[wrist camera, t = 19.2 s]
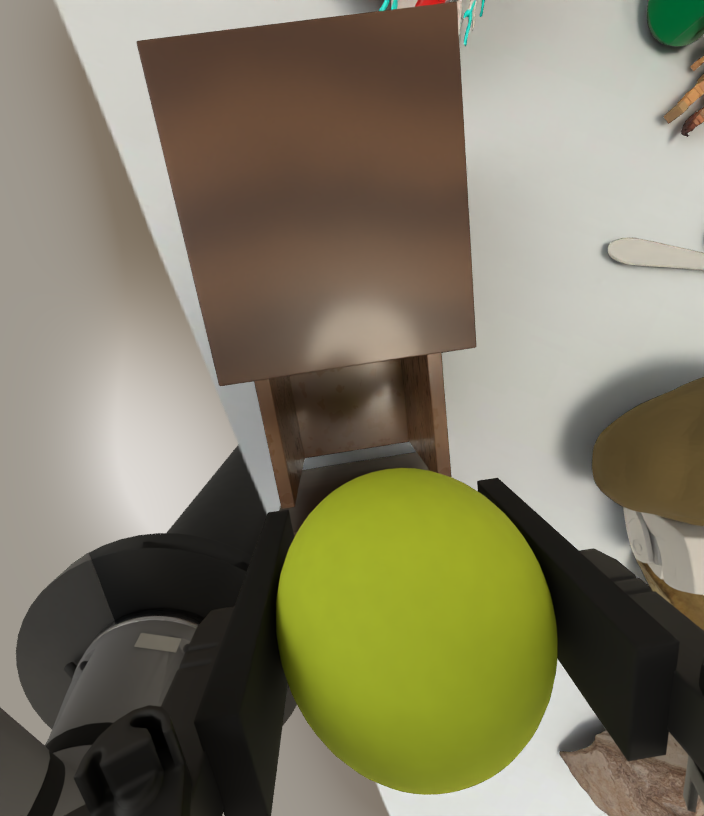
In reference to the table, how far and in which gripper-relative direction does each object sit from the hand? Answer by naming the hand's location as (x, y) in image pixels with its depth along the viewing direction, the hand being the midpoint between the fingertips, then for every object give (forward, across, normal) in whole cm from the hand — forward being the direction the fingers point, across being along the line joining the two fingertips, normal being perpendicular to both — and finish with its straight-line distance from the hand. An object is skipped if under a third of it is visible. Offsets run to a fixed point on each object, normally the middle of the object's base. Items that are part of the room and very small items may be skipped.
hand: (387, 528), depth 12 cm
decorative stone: (+16, +26, -2) cm, 30 cm away
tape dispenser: (+17, +26, -15) cm, 35 cm away
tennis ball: (-3, 0, 0) cm, 3 cm away
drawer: (+15, 0, -1) cm, 15 cm away
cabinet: (+16, 0, +12) cm, 20 cm away
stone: (+17, +25, -42) cm, 51 cm away
